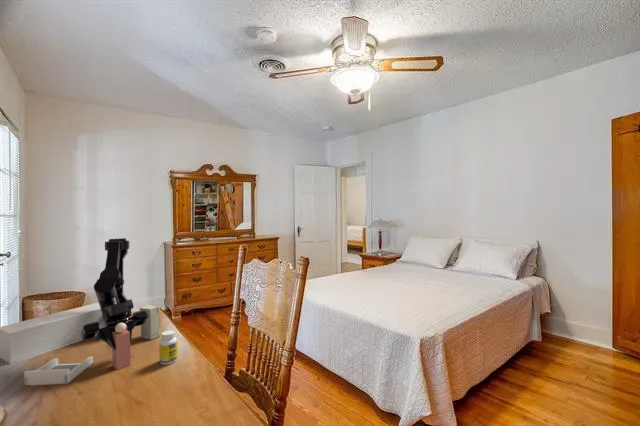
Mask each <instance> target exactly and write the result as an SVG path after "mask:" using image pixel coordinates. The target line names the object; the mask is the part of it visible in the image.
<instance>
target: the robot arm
mask: <svg viewBox="0 0 640 426" xmlns="http://www.w3.org/2000/svg"><path fill="white" fill-rule="evenodd" d="M129 249H130V240H127V238H125V237H122V238H109V239H108V241H105V242H104V251H107V253H106V258H105V265H104V269H103V270H102V271H100V273H99V278H97V280H96V281H95V283H94V285H93V290H94V292H95V293H94V294H95V295H96V298H97V303H99V305H100V309H101V312H102V318H103V319H104V323H102V324H99V323H98V322H93V323H89V324H85V325H84V326H83V328H82V331H81V338H82V341H87V340H90V339H94V338H95V337H96V340H101V341H103V342H104V343H106V344H107V345H108V346H109V347H110V348H111V349H112V348H113V349H114V350H116V345H115V342H114V339H113V337H112V333H113V332H116V331H115V327H116V325H117V324H118V323H125V324H126V330H127V331H129V332H130V346H131V344H132V336H133V330H134V329H135V328H136V327H139V326H141V325H143V324H144V323H145V321H146V319H147V317H148V314H147V312H146V311H144V310H143V311H140V310H139V311H135V312H132V309H134V302H133V299H132V298H130V299H128V298H127V297H126V295H125V294H124V284H125V280H124V260H125V258H126V256H127V255H128V254H129V252H128V251H129ZM95 332H96V333H95ZM96 334H97V336H95V335H96Z"/></svg>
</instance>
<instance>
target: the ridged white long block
mask: <svg viewBox="0 0 640 426" xmlns="http://www.w3.org/2000/svg"><path fill="white" fill-rule="evenodd" d="M93 322H98V323H99V324H102V323H104V319H103V318H102V312H101V309H100V305H99V302H95V303H91V304H87V305H83V306H79V307H75V308H71V309H70V308H69V309H67V310H63V311H59V312H55V313H50V314H47V315H44V316H43V315H42V316H39V317H35V318H30V319H26V320H23V321H19V322H14V323H10V324H5V325H1V326H0V359H1V360H2V359H3V360H2V361H4V360H5V361H4V362H6V361H7V362H6V363H8V362H9V363H13V364H15V363H14V362H16V363H18V362H17V361H19V362H21V361H20V360H22V361H25V360H28V359H31V358H34V357H37V356H40V355H43V354H45V353H49V352H51V351H52V352H53V351H54V350H57V349H58V350H59V349H61V348H63V347H66V346H67V347H68V346H70V345H73V344H76V343H79V342H82V341H83V340H82V338H81V331H82V328H83V326H84V325H85V324H89V323H93ZM95 333H96V332H95ZM96 336H97V334H96V335H95V336H94V337H96ZM27 358H28V359H27ZM24 359H25V360H24ZM9 363H8V364H9Z"/></svg>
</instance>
